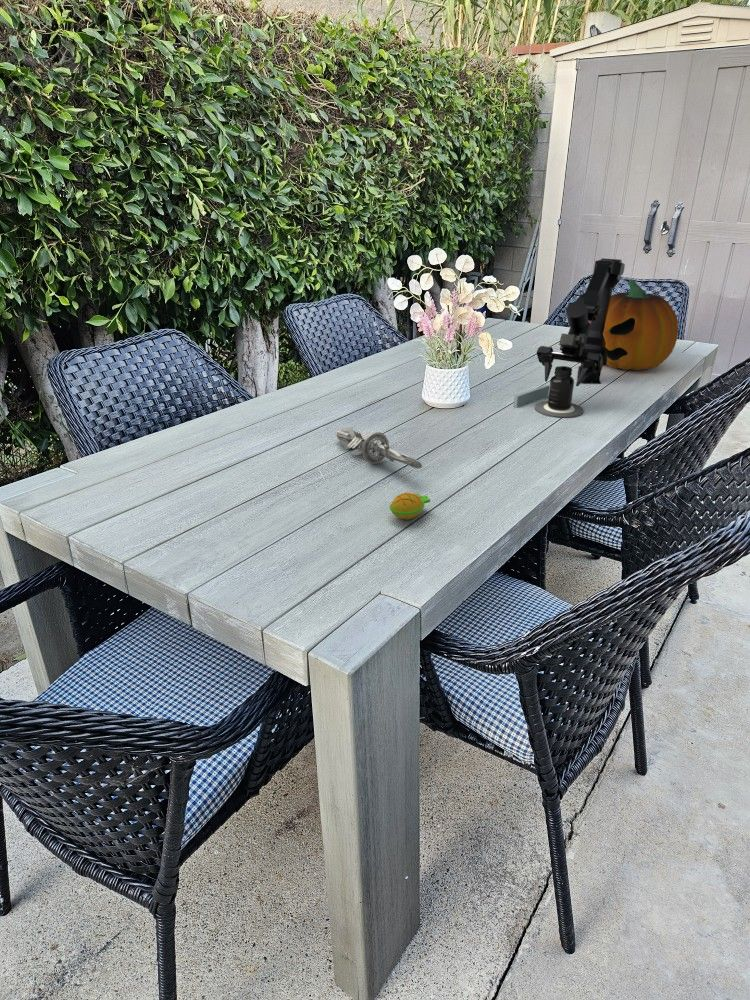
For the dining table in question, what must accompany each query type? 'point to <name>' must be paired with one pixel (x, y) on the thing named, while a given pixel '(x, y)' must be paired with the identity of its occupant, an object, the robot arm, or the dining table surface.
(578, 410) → the mat
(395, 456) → the spaceship
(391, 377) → the dining table surface
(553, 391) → the supplement bottle
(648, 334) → the decorative pumpkin
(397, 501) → the orange green rounded piece
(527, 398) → the acrylic wall
